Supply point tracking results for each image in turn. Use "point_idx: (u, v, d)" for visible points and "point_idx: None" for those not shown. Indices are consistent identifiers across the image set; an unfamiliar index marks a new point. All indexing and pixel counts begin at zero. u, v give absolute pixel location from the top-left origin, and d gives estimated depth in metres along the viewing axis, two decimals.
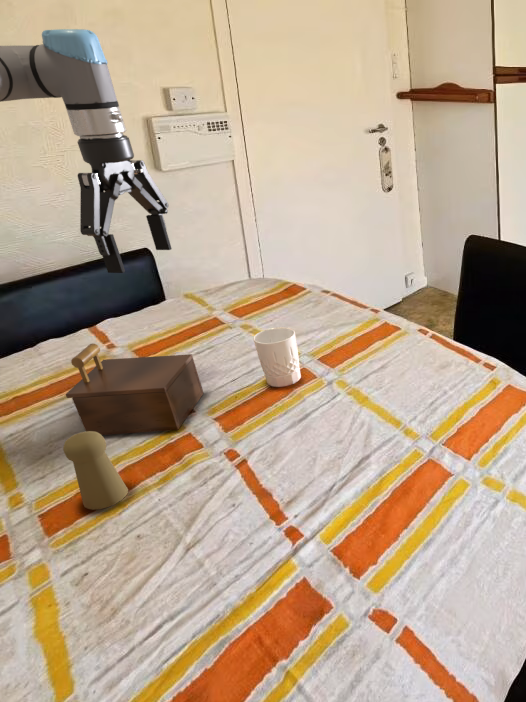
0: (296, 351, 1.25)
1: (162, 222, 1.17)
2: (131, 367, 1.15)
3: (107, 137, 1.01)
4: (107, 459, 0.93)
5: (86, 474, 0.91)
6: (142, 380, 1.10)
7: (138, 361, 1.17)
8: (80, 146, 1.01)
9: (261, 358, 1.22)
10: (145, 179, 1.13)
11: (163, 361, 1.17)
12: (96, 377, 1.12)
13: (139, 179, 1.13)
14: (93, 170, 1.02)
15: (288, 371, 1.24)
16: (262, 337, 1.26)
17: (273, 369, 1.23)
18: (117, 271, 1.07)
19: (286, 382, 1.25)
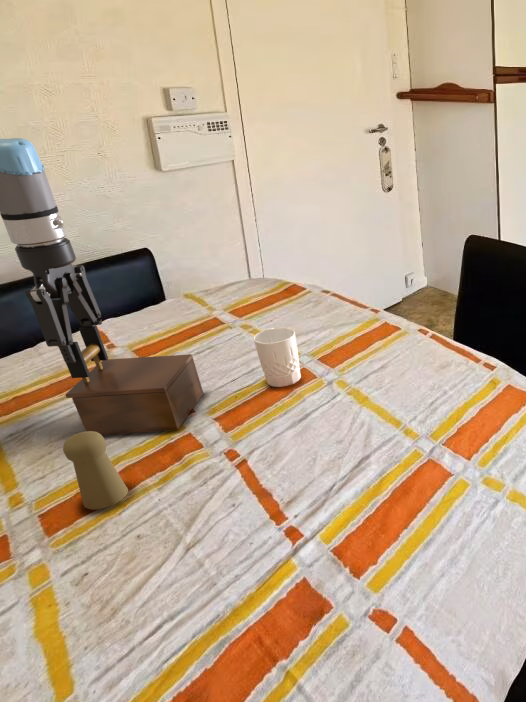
0: (296, 351, 1.25)
1: (97, 333, 1.13)
2: (131, 367, 1.15)
3: (50, 243, 0.99)
4: (107, 459, 0.93)
5: (86, 474, 0.91)
6: (142, 380, 1.10)
7: (138, 361, 1.17)
8: (20, 254, 0.99)
9: (261, 358, 1.22)
10: (82, 284, 1.10)
11: (163, 361, 1.17)
12: (96, 377, 1.12)
13: None
14: (36, 277, 1.00)
15: (288, 371, 1.24)
16: (262, 337, 1.26)
17: (273, 369, 1.23)
18: (82, 376, 1.09)
19: (286, 382, 1.25)
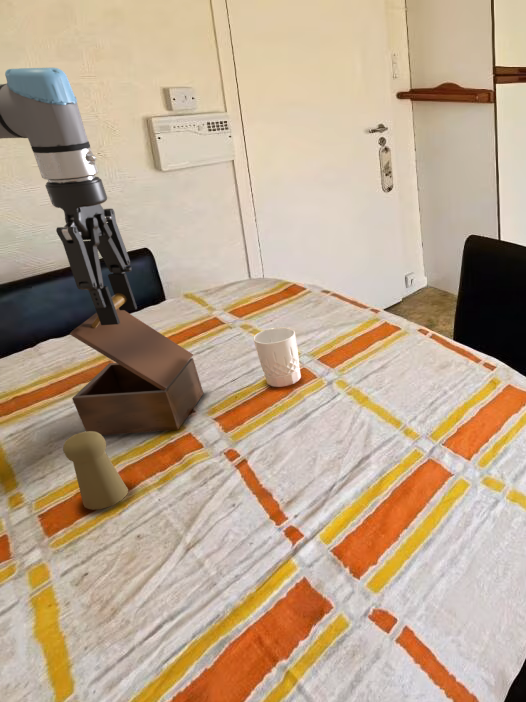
0: (296, 351, 1.25)
1: (127, 281, 1.09)
2: (137, 334, 1.12)
3: (82, 180, 0.95)
4: (107, 459, 0.93)
5: (86, 474, 0.91)
6: (146, 362, 1.09)
7: (144, 329, 1.15)
8: (51, 190, 0.95)
9: (261, 358, 1.22)
10: (112, 228, 1.06)
11: (167, 346, 1.16)
12: (103, 326, 1.08)
13: None
14: (67, 215, 0.96)
15: (288, 371, 1.24)
16: (262, 337, 1.26)
17: (273, 369, 1.23)
18: (112, 323, 1.05)
19: (286, 382, 1.25)
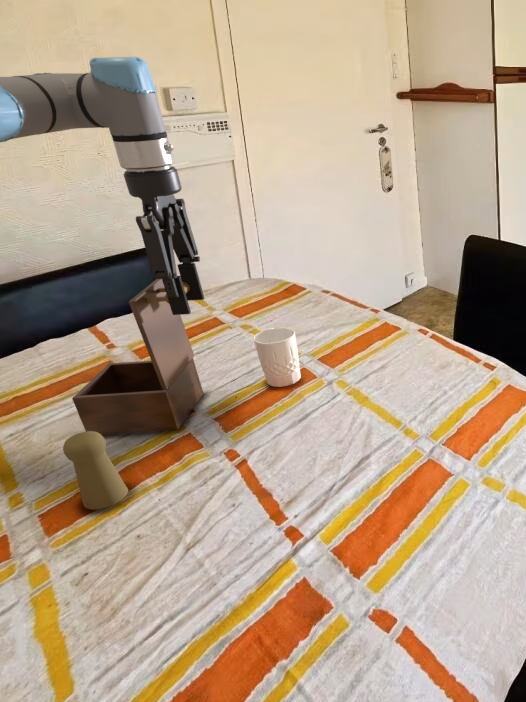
0: (296, 351, 1.25)
1: (196, 271, 1.09)
2: (169, 319, 1.12)
3: (160, 169, 0.96)
4: (107, 459, 0.93)
5: (86, 474, 0.91)
6: (165, 354, 1.09)
7: (175, 315, 1.14)
8: (129, 180, 0.95)
9: (261, 358, 1.22)
10: (183, 218, 1.06)
11: (182, 340, 1.16)
12: (153, 302, 1.06)
13: None
14: (145, 204, 0.96)
15: (288, 371, 1.24)
16: (262, 337, 1.26)
17: (273, 369, 1.23)
18: (183, 313, 1.05)
19: (286, 382, 1.25)
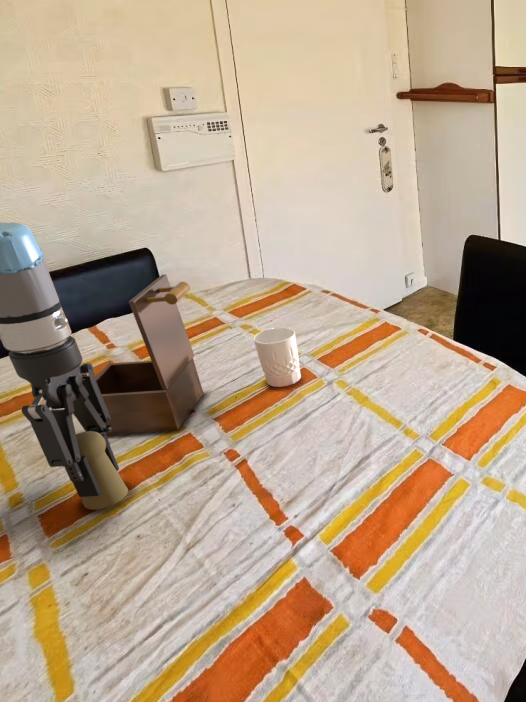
0: (296, 351, 1.25)
1: (106, 442, 0.94)
2: (169, 319, 1.12)
3: (51, 348, 0.82)
4: (107, 459, 0.93)
5: None
6: (165, 354, 1.09)
7: (175, 315, 1.14)
8: (14, 362, 0.81)
9: (261, 358, 1.22)
10: (89, 385, 0.92)
11: (182, 340, 1.16)
12: (153, 302, 1.06)
13: None
14: (34, 388, 0.82)
15: (288, 371, 1.24)
16: (262, 337, 1.26)
17: (273, 369, 1.23)
18: (91, 494, 0.91)
19: (286, 382, 1.25)
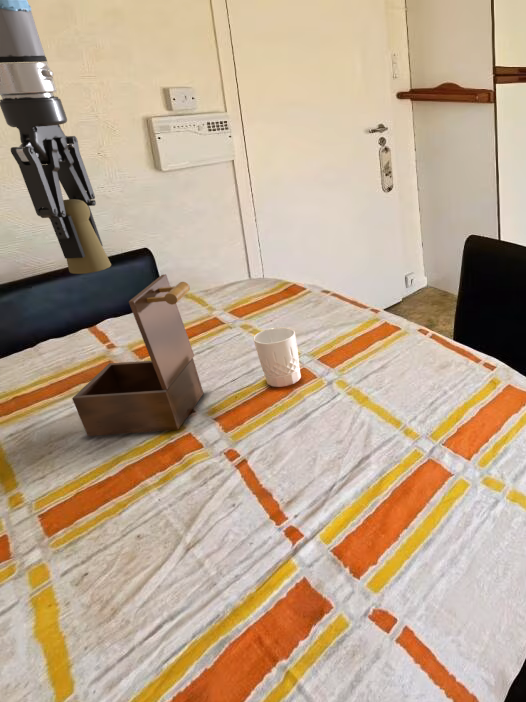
0: (296, 351, 1.25)
1: (90, 215, 1.02)
2: (169, 319, 1.12)
3: (37, 96, 0.89)
4: (91, 227, 1.00)
5: None
6: (165, 354, 1.09)
7: (175, 315, 1.14)
8: (4, 107, 0.89)
9: (261, 358, 1.22)
10: (75, 157, 1.00)
11: (182, 340, 1.16)
12: (153, 302, 1.06)
13: None
14: (22, 135, 0.90)
15: (288, 371, 1.24)
16: (262, 337, 1.26)
17: (273, 369, 1.23)
18: (76, 256, 0.99)
19: (286, 382, 1.25)
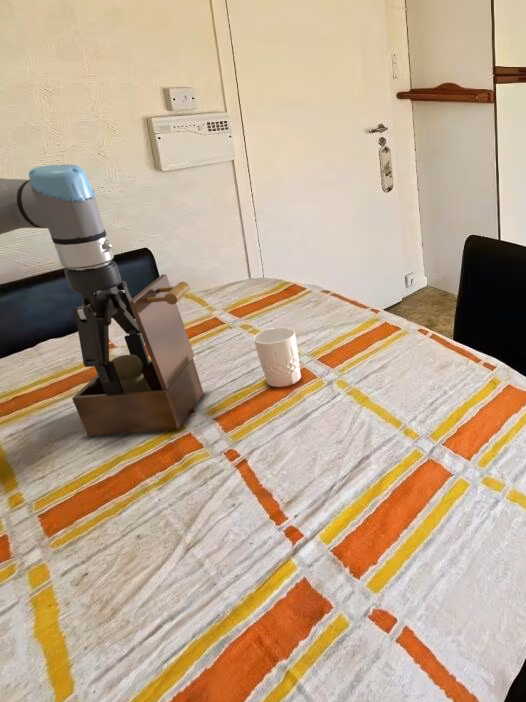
0: (296, 351, 1.25)
1: (142, 341, 1.16)
2: (169, 319, 1.12)
3: (98, 267, 1.02)
4: (143, 378, 1.14)
5: (127, 388, 1.12)
6: (165, 354, 1.09)
7: (175, 315, 1.14)
8: (69, 277, 1.01)
9: (261, 358, 1.22)
10: (126, 299, 1.13)
11: (182, 340, 1.16)
12: (153, 302, 1.06)
13: None
14: (84, 299, 1.02)
15: (288, 371, 1.24)
16: (262, 337, 1.26)
17: (273, 369, 1.23)
18: None
19: (286, 382, 1.25)
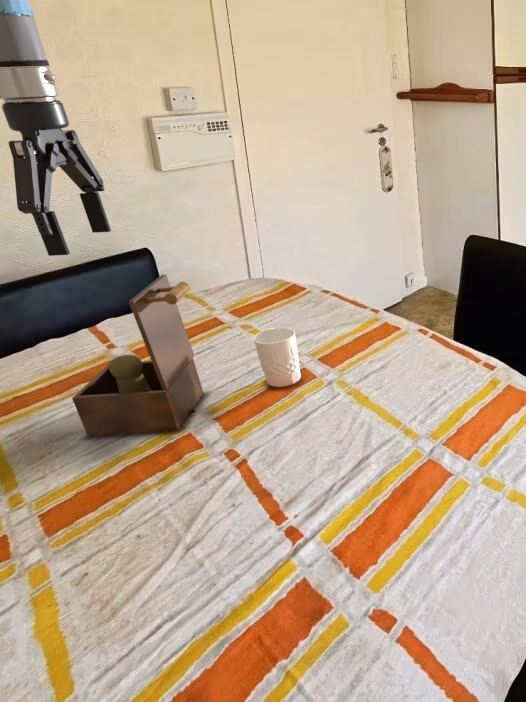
0: (296, 351, 1.25)
1: (99, 200, 1.05)
2: (169, 319, 1.12)
3: (40, 100, 0.90)
4: (143, 378, 1.14)
5: (127, 388, 1.12)
6: (165, 354, 1.09)
7: (175, 315, 1.14)
8: (7, 111, 0.89)
9: (261, 358, 1.22)
10: (78, 152, 1.01)
11: (182, 340, 1.16)
12: (153, 302, 1.06)
13: None
14: (25, 138, 0.90)
15: (288, 371, 1.24)
16: (262, 337, 1.26)
17: (273, 369, 1.23)
18: (60, 253, 0.95)
19: (286, 382, 1.25)
